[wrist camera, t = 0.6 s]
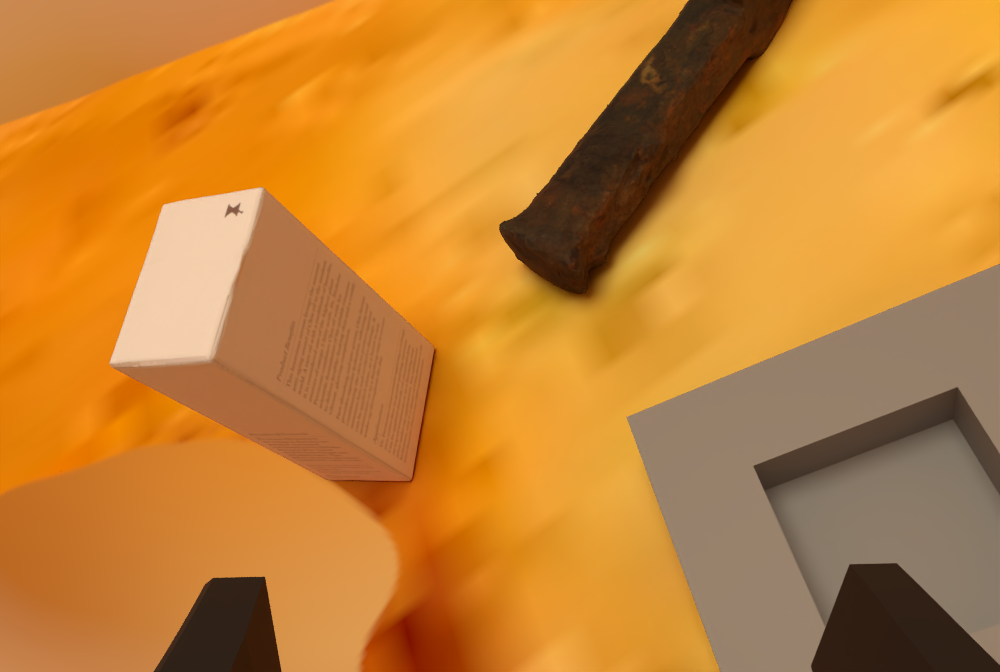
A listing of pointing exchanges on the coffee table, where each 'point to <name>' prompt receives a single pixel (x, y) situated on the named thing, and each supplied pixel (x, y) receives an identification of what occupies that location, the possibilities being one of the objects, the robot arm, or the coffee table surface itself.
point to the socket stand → (839, 476)
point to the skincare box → (276, 339)
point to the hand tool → (638, 137)
